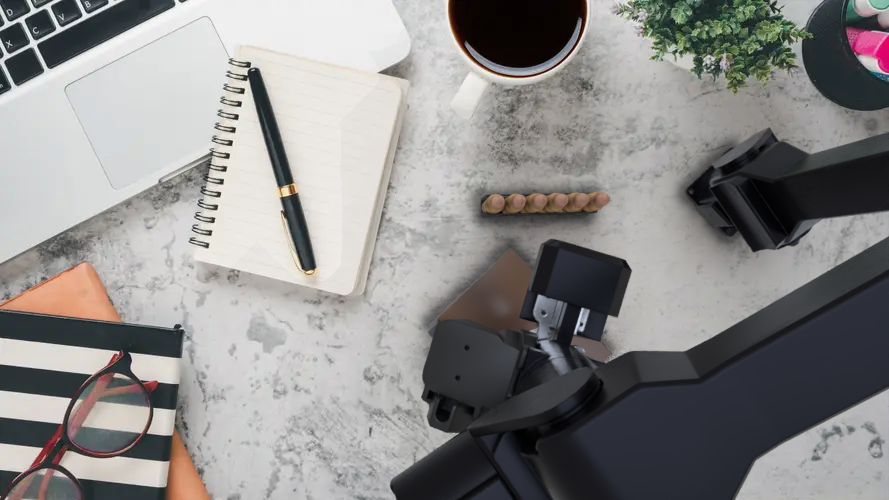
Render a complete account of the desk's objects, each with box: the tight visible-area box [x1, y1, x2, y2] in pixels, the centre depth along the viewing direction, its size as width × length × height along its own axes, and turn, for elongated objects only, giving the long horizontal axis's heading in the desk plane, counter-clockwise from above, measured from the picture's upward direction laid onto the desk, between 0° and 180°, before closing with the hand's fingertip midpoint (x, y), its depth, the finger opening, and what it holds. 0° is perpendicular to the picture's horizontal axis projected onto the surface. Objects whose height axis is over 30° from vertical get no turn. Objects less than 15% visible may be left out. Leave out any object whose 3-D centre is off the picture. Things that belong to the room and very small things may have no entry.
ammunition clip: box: [480, 191, 611, 218], centre depth 59 cm, size 11×2×12 cm, turn 91°
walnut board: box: [427, 247, 613, 362], centre depth 62 cm, size 11×14×6 cm
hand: (533, 357), depth 53 cm, fingers closed on milkshake, 5 cm apart
